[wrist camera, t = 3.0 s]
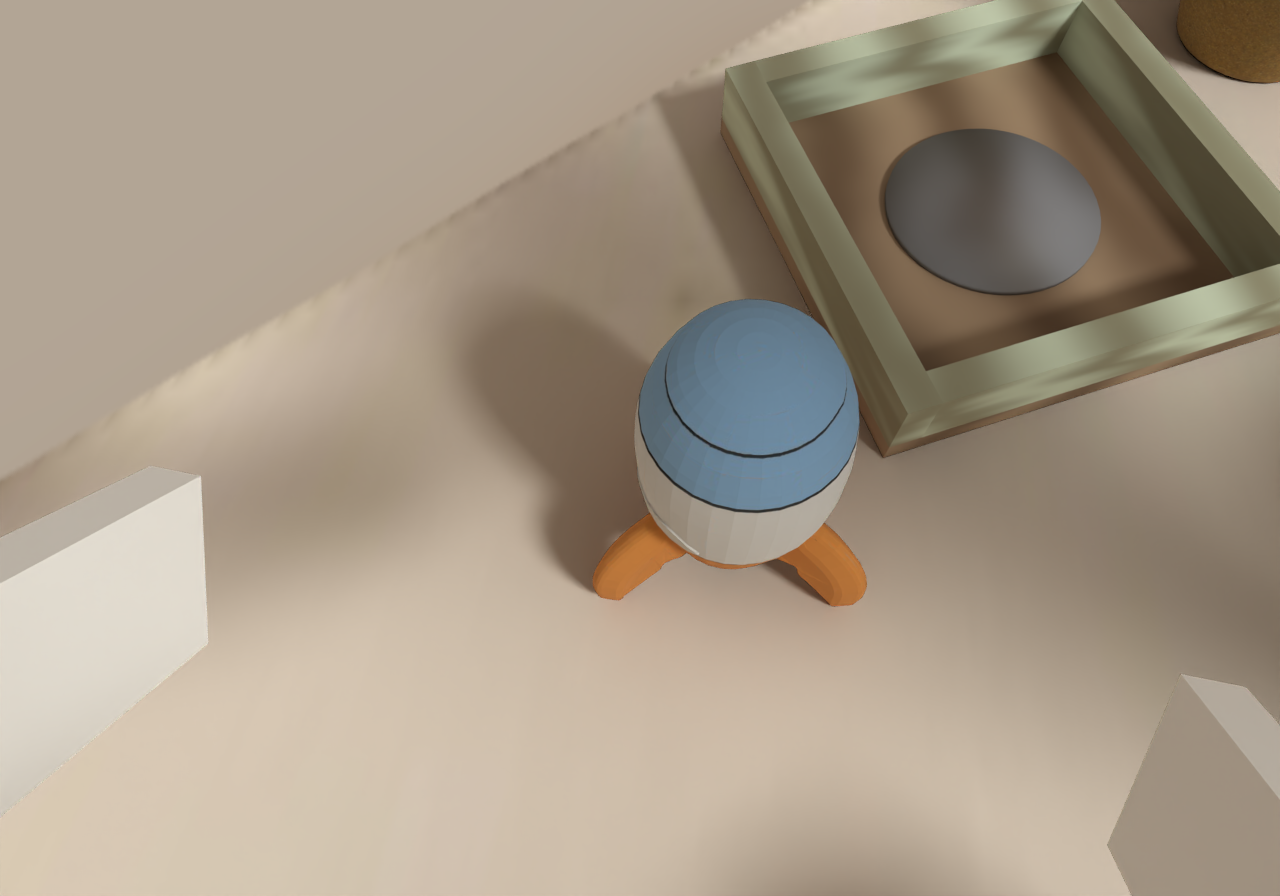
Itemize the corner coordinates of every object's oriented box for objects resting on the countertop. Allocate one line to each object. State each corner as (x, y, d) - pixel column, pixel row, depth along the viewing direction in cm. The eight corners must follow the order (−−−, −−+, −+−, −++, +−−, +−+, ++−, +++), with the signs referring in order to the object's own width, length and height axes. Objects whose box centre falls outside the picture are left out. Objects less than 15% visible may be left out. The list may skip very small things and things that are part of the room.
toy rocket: (600, 658, 33) (487, 433, 21) (628, 443, 39) (553, 174, 27) (866, 667, 31) (905, 426, 19) (852, 440, 37) (875, 150, 26)
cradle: (1059, 43, 46) (1093, -25, 43) (1287, 330, 38) (1353, 276, 34) (720, 132, 44) (725, 68, 40) (883, 457, 36) (907, 414, 32)
